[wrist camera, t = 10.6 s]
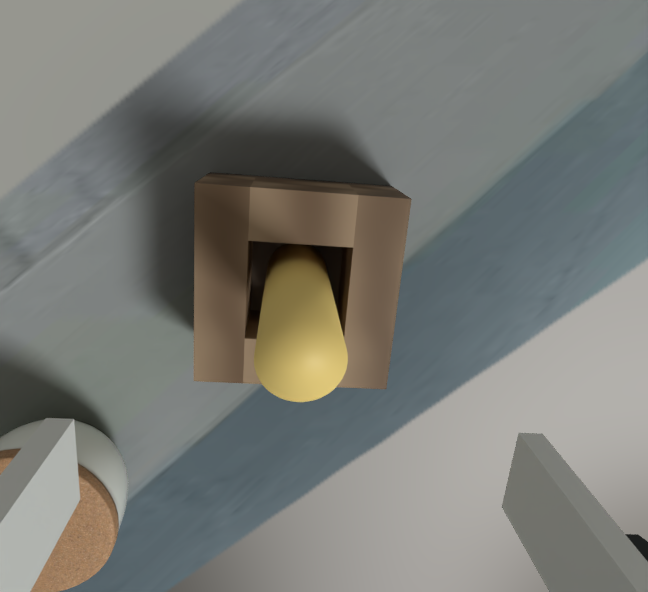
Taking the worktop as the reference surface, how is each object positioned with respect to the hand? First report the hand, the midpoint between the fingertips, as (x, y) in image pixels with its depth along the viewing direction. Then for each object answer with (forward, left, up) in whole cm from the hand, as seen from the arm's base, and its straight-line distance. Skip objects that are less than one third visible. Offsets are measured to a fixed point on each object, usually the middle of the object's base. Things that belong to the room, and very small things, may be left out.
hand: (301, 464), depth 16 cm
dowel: (0, 0, -21) cm, 21 cm away
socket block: (0, 0, -22) cm, 22 cm away
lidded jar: (-16, -16, -22) cm, 32 cm away
